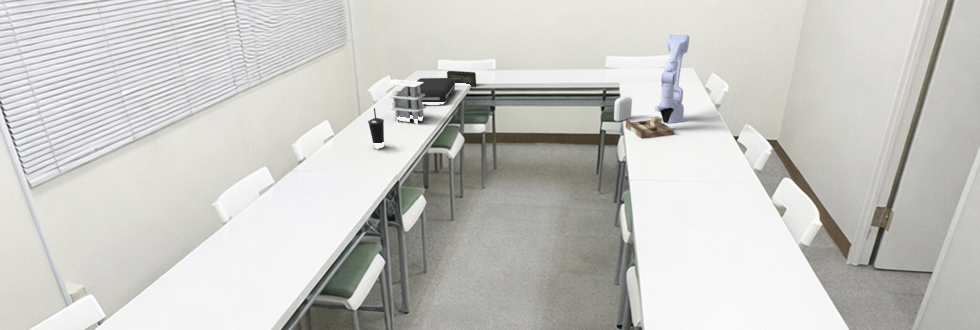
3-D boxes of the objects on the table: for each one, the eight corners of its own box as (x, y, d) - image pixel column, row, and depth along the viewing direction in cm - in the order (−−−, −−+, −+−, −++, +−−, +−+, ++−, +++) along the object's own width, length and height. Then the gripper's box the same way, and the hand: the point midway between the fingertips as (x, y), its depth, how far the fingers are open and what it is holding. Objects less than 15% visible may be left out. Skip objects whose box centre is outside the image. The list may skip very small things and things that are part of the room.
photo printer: (626, 116, 310) (627, 94, 306) (632, 118, 307) (633, 95, 303) (612, 120, 305) (613, 97, 301) (618, 122, 302) (619, 99, 297)
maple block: (657, 123, 288) (658, 116, 287) (661, 126, 285) (661, 118, 283) (650, 124, 288) (650, 117, 286) (653, 127, 284) (654, 119, 283)
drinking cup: (389, 145, 284) (385, 106, 276) (382, 150, 277) (377, 110, 270) (376, 144, 286) (371, 105, 279) (368, 149, 280) (363, 110, 272)
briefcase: (410, 92, 383) (408, 77, 379) (456, 91, 379) (455, 76, 375) (395, 107, 350) (393, 91, 346) (445, 106, 346) (444, 90, 342)
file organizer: (423, 130, 305) (419, 90, 297) (368, 125, 318) (363, 86, 309) (445, 116, 327) (442, 79, 319) (392, 112, 340) (388, 76, 331)
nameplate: (447, 85, 395) (446, 71, 391) (449, 84, 396) (448, 70, 392) (475, 87, 386) (474, 72, 382) (476, 86, 388) (475, 72, 384)
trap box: (656, 123, 296) (656, 116, 295) (673, 134, 280) (674, 126, 278) (625, 127, 293) (625, 120, 292) (641, 138, 277) (641, 130, 275)
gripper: (670, 91, 288) (668, 117, 294) (651, 97, 281) (649, 123, 286) (682, 94, 283) (680, 120, 288) (662, 99, 276) (660, 126, 281)
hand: (665, 122), depth 287 cm, fingers closed
